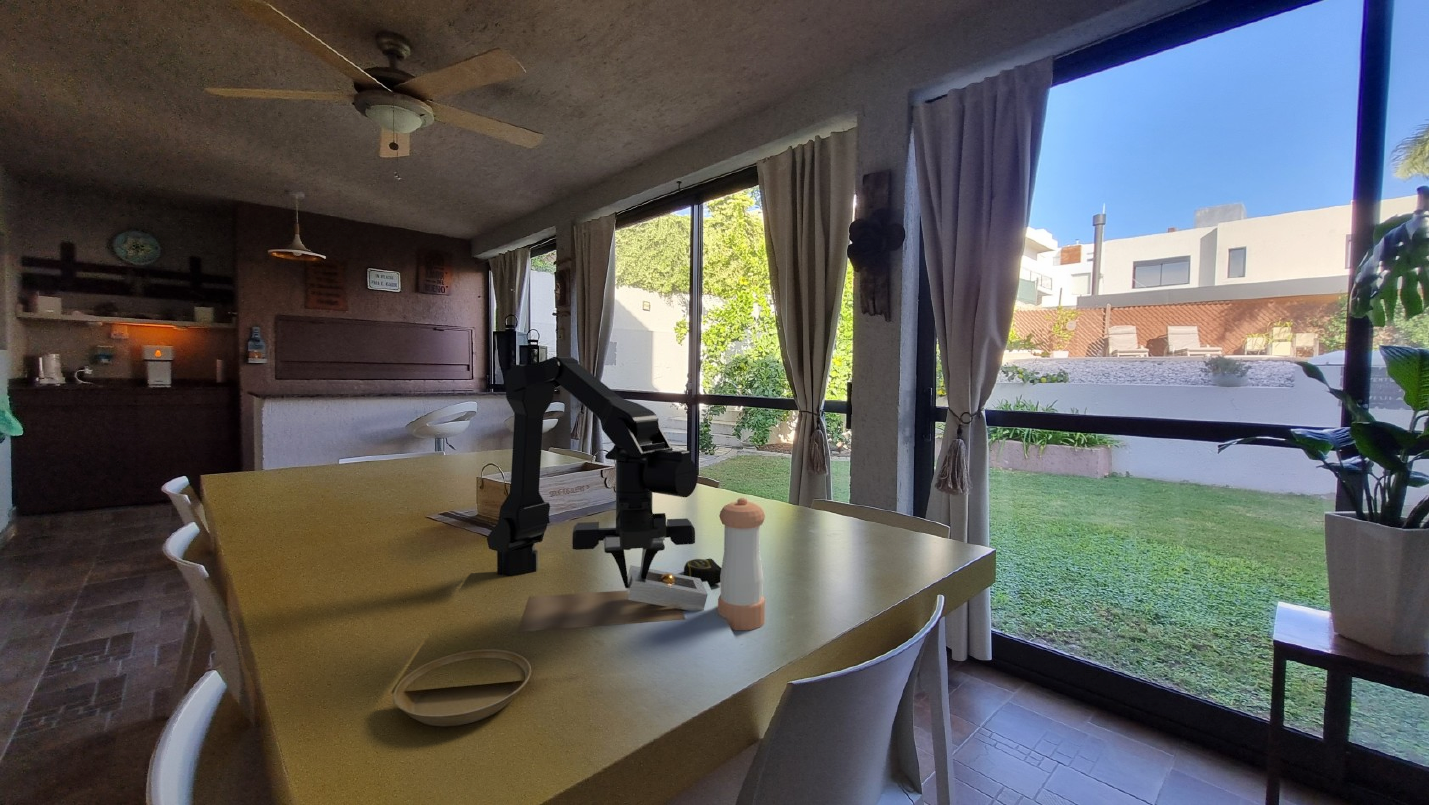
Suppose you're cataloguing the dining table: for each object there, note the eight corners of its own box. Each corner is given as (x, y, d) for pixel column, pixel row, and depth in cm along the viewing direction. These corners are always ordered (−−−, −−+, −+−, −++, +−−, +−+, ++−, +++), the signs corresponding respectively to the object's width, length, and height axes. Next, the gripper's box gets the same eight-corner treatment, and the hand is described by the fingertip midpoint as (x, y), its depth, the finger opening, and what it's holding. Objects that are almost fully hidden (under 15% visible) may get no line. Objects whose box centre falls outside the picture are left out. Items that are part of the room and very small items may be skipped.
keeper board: (517, 642, 81) (517, 631, 81) (529, 605, 94) (529, 596, 94) (685, 628, 86) (685, 619, 86) (674, 595, 99) (674, 587, 98)
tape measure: (726, 587, 103) (726, 567, 103) (689, 592, 101) (689, 571, 101) (714, 575, 109) (714, 555, 109) (679, 578, 107) (679, 559, 107)
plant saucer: (385, 692, 69) (385, 671, 69) (510, 657, 78) (509, 638, 77) (404, 759, 57) (404, 733, 57) (549, 708, 66) (549, 686, 66)
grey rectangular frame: (627, 599, 87) (632, 580, 87) (625, 582, 94) (630, 565, 94) (702, 613, 89) (707, 594, 89) (695, 595, 96) (700, 578, 96)
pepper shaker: (757, 633, 84) (758, 505, 83) (711, 626, 87) (711, 501, 86) (769, 614, 91) (771, 495, 90) (726, 607, 94) (727, 492, 93)
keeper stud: (660, 606, 90) (660, 577, 90) (659, 600, 93) (659, 572, 92) (675, 605, 91) (675, 576, 91) (673, 599, 93) (673, 571, 93)
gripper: (570, 502, 80) (570, 611, 81) (701, 498, 84) (700, 603, 84) (574, 487, 91) (574, 583, 92) (690, 483, 95) (689, 576, 95)
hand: (634, 586), depth 91 cm, fingers closed on grey rectangular frame, 2 cm apart
